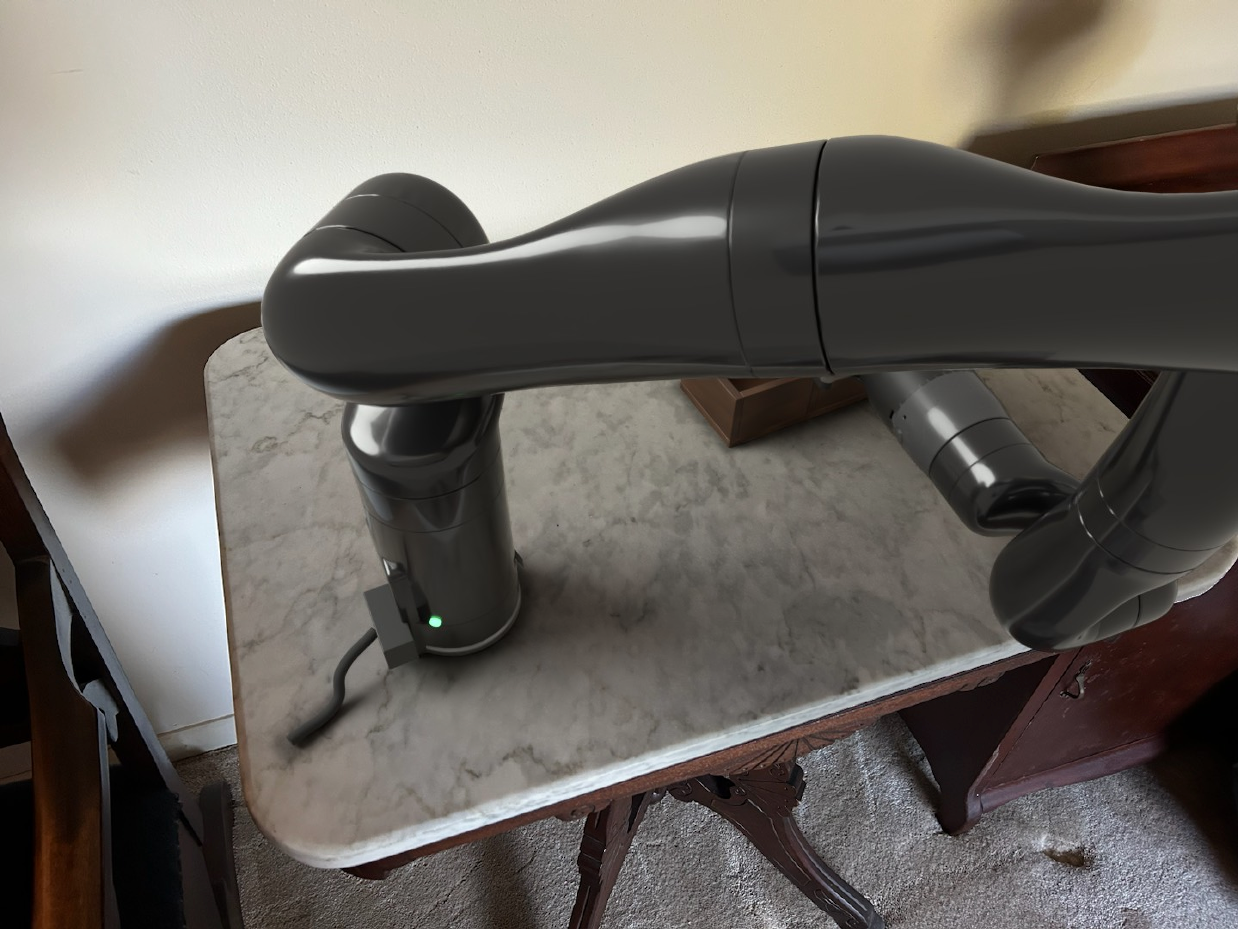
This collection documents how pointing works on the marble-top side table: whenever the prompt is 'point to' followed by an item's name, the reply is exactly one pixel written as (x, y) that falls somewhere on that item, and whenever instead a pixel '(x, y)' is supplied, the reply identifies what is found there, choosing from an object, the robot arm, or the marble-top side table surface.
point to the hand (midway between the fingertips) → (842, 291)
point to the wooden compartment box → (765, 403)
